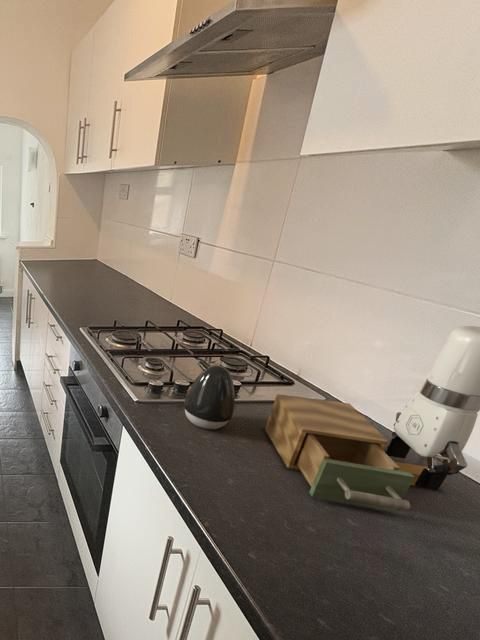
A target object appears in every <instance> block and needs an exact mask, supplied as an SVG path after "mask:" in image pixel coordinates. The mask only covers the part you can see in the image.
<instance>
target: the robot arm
mask: <svg viewBox="0 0 480 640" xmlns="http://www.w3.org/2000/svg"><path fill="white" fill-rule="evenodd" d="M479 412H480V326H476V325H475V326H474V325H463V326H459V327H456V328H455V329H453V330H452V331H451V332H450V334H449V336H448V337H447V339H446V341H445V343H444V345H443V347H442V348H441V350H440V353H439V354H438V356H437V358H436V360H435V362H434V364H433V365H432V367H431V369H430V371H429V374H428V376H427V378H426V379H425V381H424V383H423V385H422V387H421V389H419V390H418V391H417V392H416V393H415V394H414V395H413V396H412V397H411V398H410V400H409V401H408V402H407V404H406V405H405V407H404V409H402V411H401V412H399V411H398V412H397V413H396V415H395V422H394V424H393V432H392V433H391V437H392V438H391V440H390V442H389V443H388V446H387V447H386V449H385V451H384V452H385V453H386V454H387V455H388V456H389V457H390V458H391V457H392V458H398V459H406V457H407V456H408V454H409V452H410V450H413V451H414V452H415V453H416V454H417V455H419V456H421V457H423V458H426V463H427V467H428V469H426V468H424V469H423V471H422V472H421V474H420V476H419V478H418V479H417V481H416V483H415V485H416V486H415V485H414V486H415V487H416V488H419V489H424V490H429V491H436V492H437V491H439V490H440V489H441V488H440V486H441V485H442V486H443V484H444V482H445V481H446V478H447V477H448V476H452V475H455V474H459V472H461V471H463V470H464V469H466V468H467V467H468V463H467V461H466V458H465V456H464V454H463V451H464V449H465V447H466V445H467V443H468V441H469V439H470V437H471V435H472V433H473V430H474V428H475V425H476V422H477V418H478V415H479V414H478V413H479ZM437 461H441V462H442V464H439V465H437ZM444 480H445V481H444ZM443 481H444V482H443ZM442 483H443V484H442ZM442 486H441V487H442ZM439 488H440V489H439Z"/></svg>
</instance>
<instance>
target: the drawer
mask: <svg viewBox="0 0 480 640" xmlns="http://www.w3.org/2000/svg"><path fill="white" fill-rule="evenodd" d="M385 452H386V451H385V450H384V451H383V450H382V449H381V448H380V447H379V446H378V445H377V444H376V443H371V442H365V441H358V440H351V439H345V438H338V437H331V436H325V435H318V434H312V433H306V435H305V437H304V440H303V442H302V445H301V447H300V450H299V453H298V455H297V458H296V460H295V462H296V464H297V465H298V467H299V468H300V470H299V471H300V472H301V474H302V475H303V476H304V478H305V480H306V481H307V482H308V484H309V486H310V490H309V494H310V496H311V497H312V498H316V499H322V500H327V501H332V502H333V501H334V502H337V503H338V502H339V503H343V504H349V505H354V506H359V507H365V508H370V509H375V510H381V511H387V512H390V513H391V512H392V513H396V512H397V511H398V510H404V511H408V510H409V509H410V508H411V504H410V503H411V502H410V501H409V500H408V499H404V497H405V496H406V494H407V492H408V490H409V488H410V486H412V485H411V483H412V481H413V479H414V476H413V475H412V474H411V473H409V472H403V471H398V470H399V469H400V468H399V467H398V465H397V464H396V463H395V462H396V461H394V460H393V459H392V458H391V456H388V455H387V454H386V453H385Z"/></svg>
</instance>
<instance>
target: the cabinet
mask: <svg viewBox="0 0 480 640" xmlns="http://www.w3.org/2000/svg"><path fill="white" fill-rule="evenodd" d="M264 431H265V432H266V434H267V436H268V438H269V439H270V441H271V443H272V444H273V446H274V447H275V449H276V451H277V453H278V454H279V456H280V458H281V459H282V461H283V463H284V464H285V466H286V468H287V469H289V470H290V469H291V470H297V471H301V470H300V468H299V467H298V465H297V464H296V462H295V460H296V458H297V455H298V453H299V450H300V447H301V445H302V442H303V440H304V437H305V435H306V433H312V434H318V435H325V436H331V437H338V438H345V439H351V440H358V441H365V442H371V443H376V444H377V445H378V446H379V447H380V448H381V449H382V450H383V451H384V452H385V451H386V449H387V447H388V446H387V445H389V440H388V439H387V438H386V437H385V436H384V435H382V434H381V432H380V431H378V430H377V428H376V427H374V426H373V425H372V423H370V421H368V420H367V418H365V417H364V416H363V415H362V414H361V413H360V412H359V411H358V410H357V409H356V408H355V407H354V406H353V405H352V404H351V403H349V402H342V401H333V400H326V399H318V398H310V397H303V396H295V395H288V394H280V393H277V394H276V396H275V398H274V401H273V404H272V408H271V410H270V413H269V417H268V419H267V423H266V425H265V428H264Z"/></svg>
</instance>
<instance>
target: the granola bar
mask: <svg viewBox="0 0 480 640" xmlns="http://www.w3.org/2000/svg"><path fill="white" fill-rule="evenodd" d="M394 462H395V463H396V464H397V465H398V467H399V468H400V469H399V470H398V471H403V472H409V473H411V474H412V475H413V476H414V479H413V481H412V483H411V485H410V486H415V487H417V486H416V485H415V483H416V481H417V479H418V478H419V476H420V474H421V472H422V471H423V469H424V468H426V469H428V466H425V465H417V464H413V463H412V464H411V463H405V462H399V461H394ZM445 481H446V479H445V480H444V481H443V483H442V485H441V486H440V488H439V490H440V489H441V487H442V486H443V484H444V482H445Z"/></svg>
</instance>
